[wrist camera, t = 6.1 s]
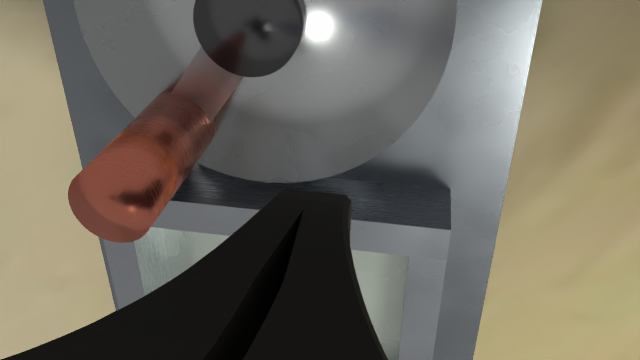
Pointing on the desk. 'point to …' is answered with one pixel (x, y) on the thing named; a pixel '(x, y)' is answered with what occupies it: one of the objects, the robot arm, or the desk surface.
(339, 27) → the crank
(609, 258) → the desk surface
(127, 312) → the robot arm
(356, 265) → the crank bench
